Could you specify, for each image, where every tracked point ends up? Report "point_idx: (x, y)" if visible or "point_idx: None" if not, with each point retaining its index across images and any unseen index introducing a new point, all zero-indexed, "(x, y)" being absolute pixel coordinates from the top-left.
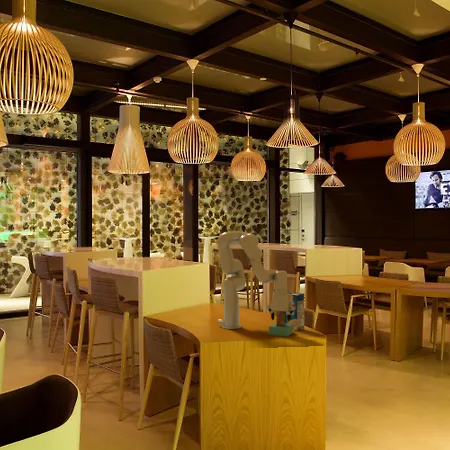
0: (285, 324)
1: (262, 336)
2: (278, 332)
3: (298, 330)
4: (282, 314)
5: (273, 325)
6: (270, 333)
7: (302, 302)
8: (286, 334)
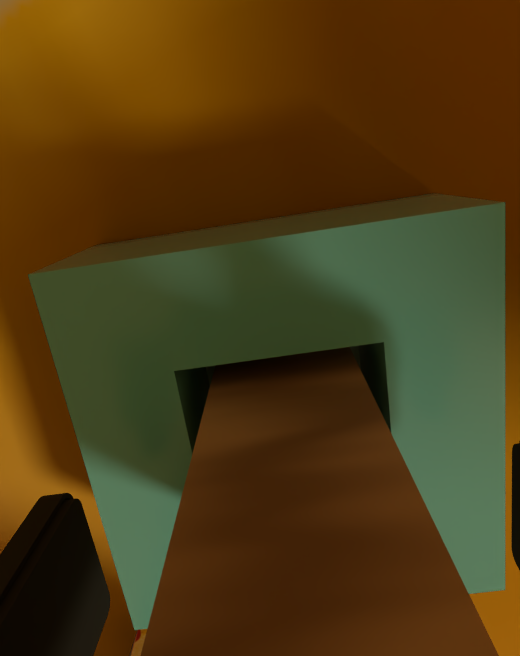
0: None
1: (506, 18)
2: (254, 225)
3: None
4: (176, 624)
5: (435, 358)
6: (410, 198)
7: None
8: (104, 247)
